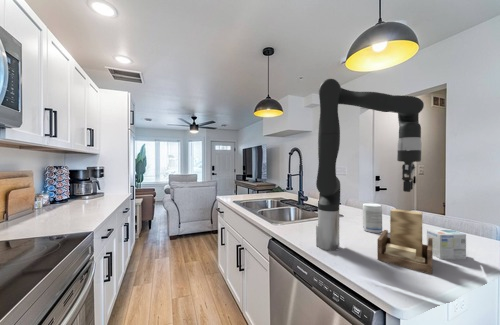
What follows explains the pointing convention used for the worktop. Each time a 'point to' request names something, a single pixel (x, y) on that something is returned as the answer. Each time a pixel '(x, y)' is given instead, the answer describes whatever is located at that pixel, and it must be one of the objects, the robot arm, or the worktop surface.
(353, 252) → the worktop surface
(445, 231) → the light bulb box
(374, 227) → the supplement tub
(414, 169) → the robot arm
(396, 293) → the worktop surface
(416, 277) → the worktop surface
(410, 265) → the rack
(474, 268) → the worktop surface
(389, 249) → the pine offcut top
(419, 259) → the pine offcut bottom
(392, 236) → the oak board
